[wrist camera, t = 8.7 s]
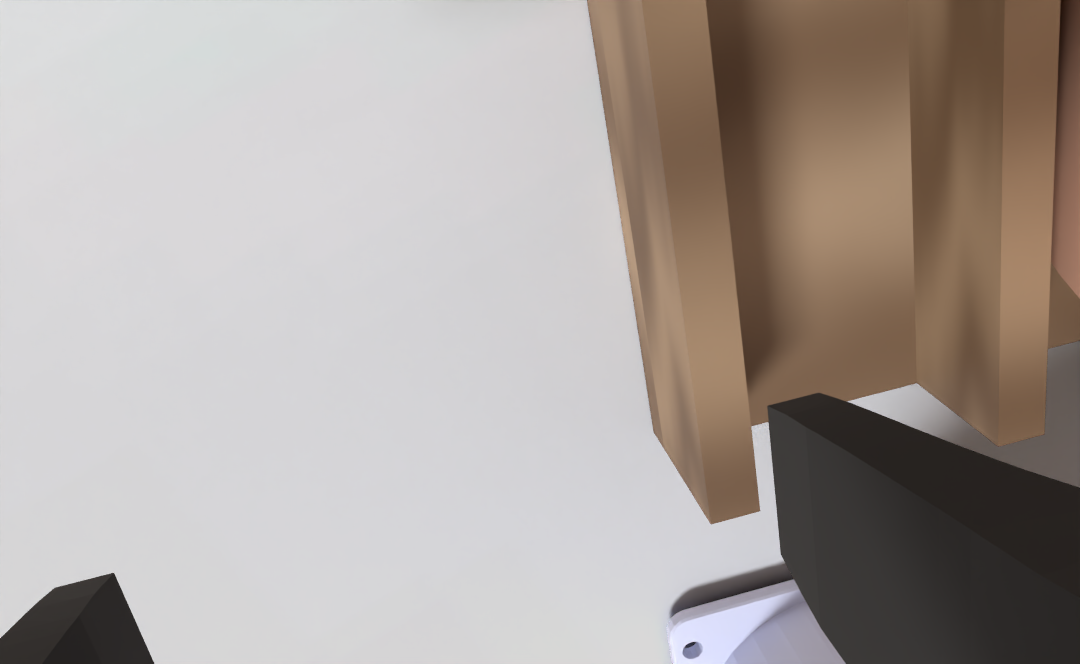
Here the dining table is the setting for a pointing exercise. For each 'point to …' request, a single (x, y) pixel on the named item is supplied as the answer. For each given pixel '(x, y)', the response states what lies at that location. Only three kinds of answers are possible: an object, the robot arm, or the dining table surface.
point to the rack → (833, 212)
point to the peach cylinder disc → (1067, 150)
